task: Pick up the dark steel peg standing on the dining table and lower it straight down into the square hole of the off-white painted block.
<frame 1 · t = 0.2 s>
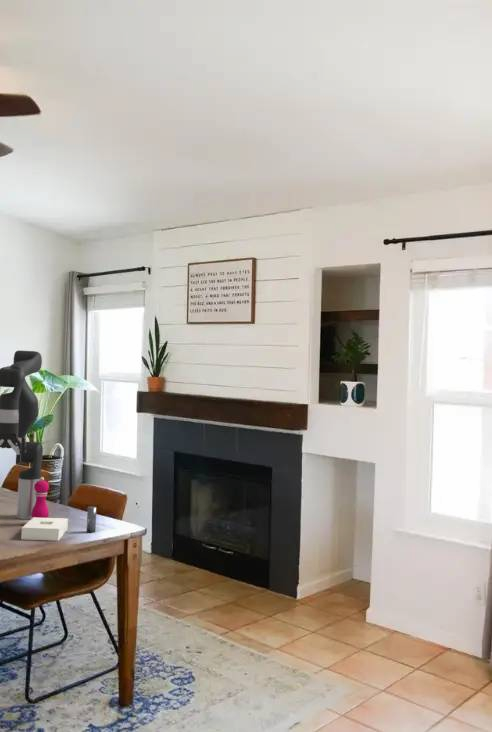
hand: (5, 464, 271), 29 cm above the table, fingers open, 8 cm apart
peg: (90, 531, 293), on the table
hole block: (45, 534, 285), on the table
pepper mill: (39, 524, 303), on the table
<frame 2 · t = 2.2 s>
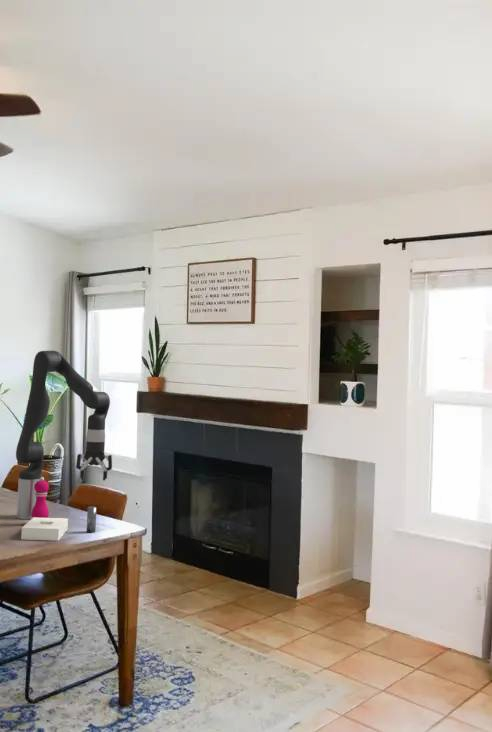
hand: (93, 479, 294), 21 cm above the table, fingers open, 8 cm apart
nothing on the table moved.
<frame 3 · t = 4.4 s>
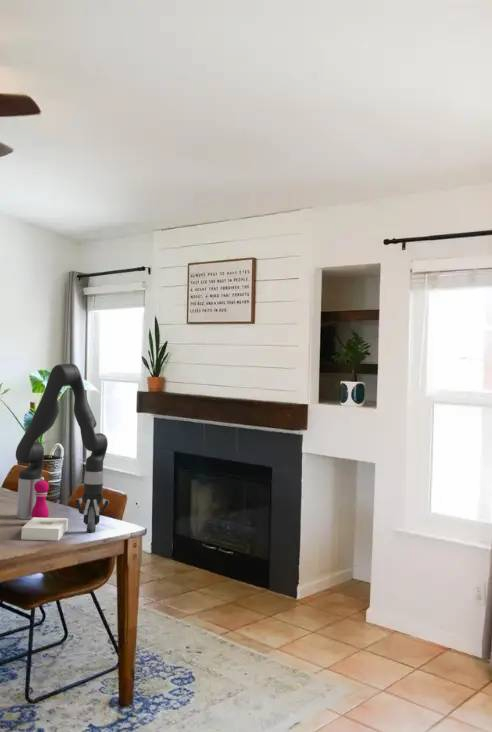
hand: (91, 524, 293), 3 cm above the table, fingers closed on peg, 3 cm apart
peg: (90, 531, 293), on the table, touching gripper
everything else where it was.
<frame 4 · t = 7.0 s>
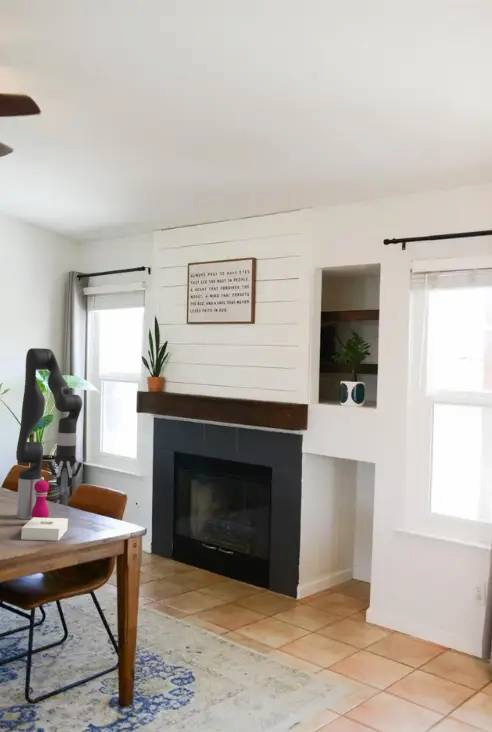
hand: (64, 486, 289), 19 cm above the table, fingers closed on peg, 3 cm apart
peg: (63, 494, 289), point 16 cm above the table, touching gripper
everything else where it was.
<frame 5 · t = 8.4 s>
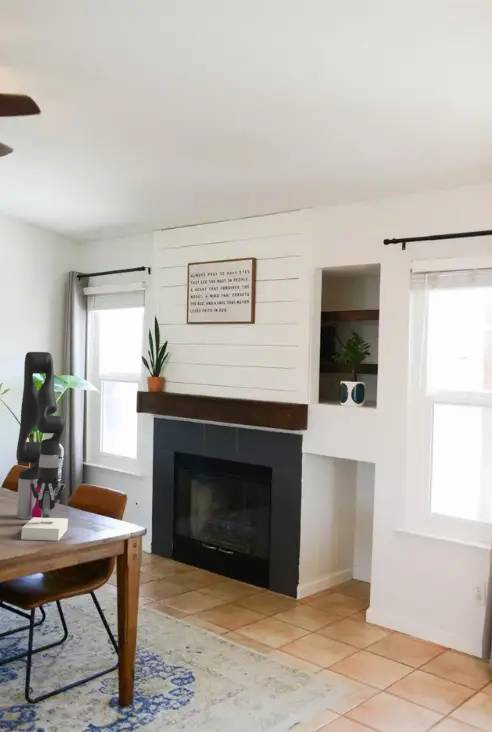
hand: (46, 508, 285), 10 cm above the table, fingers closed on peg, 3 cm apart
peg: (46, 517, 285), point 7 cm above the table, touching gripper
everything else where it was.
when the fingers open (6 cm above the table, at t = 9.6 s): peg drops 2 cm, resting in hole block.
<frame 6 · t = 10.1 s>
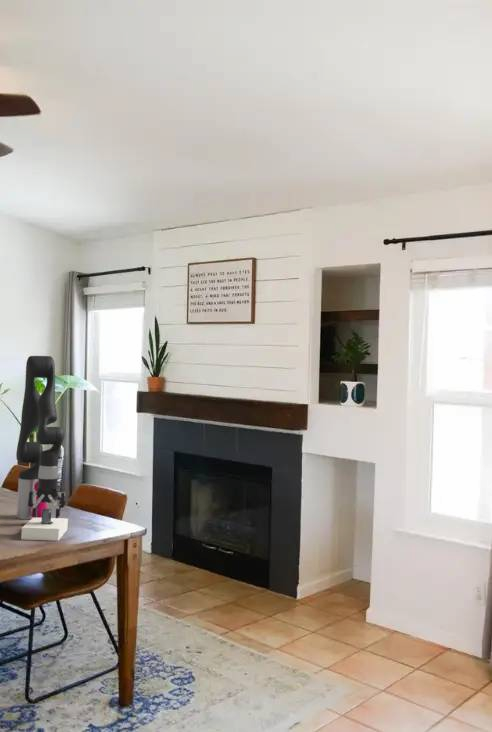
hand: (46, 517, 285), 7 cm above the table, fingers open, 8 cm apart
peg: (45, 534, 285), resting in hole block
everything else where it was.
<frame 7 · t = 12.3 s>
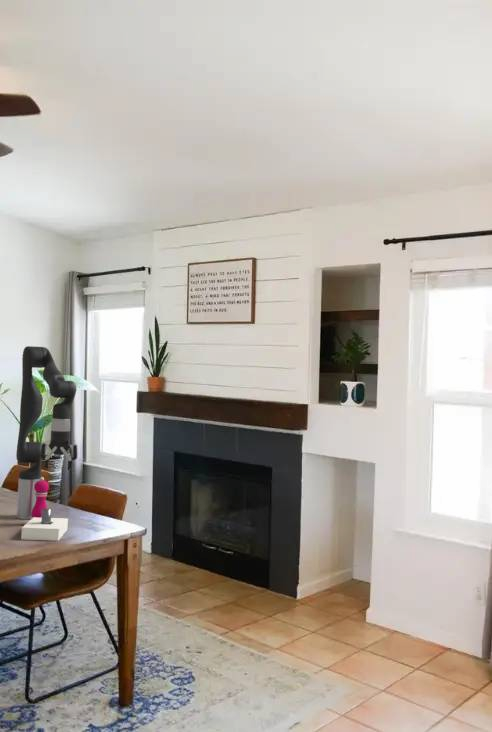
hand: (58, 469, 291), 25 cm above the table, fingers open, 8 cm apart
nothing on the table moved.
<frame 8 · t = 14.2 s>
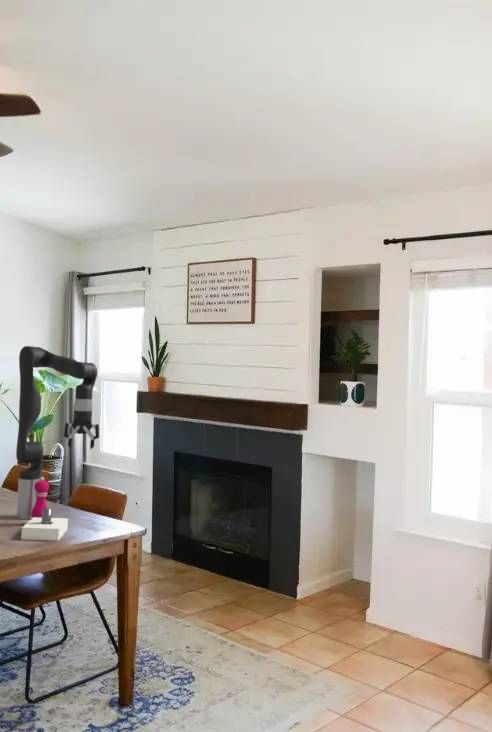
hand: (81, 448, 301), 33 cm above the table, fingers open, 8 cm apart
nothing on the table moved.
at the end: peg 0.1 cm off-centre on the hole block, point 0.0 cm above the hole block's base; peg tilted 1°; the gripper is holding nothing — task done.
